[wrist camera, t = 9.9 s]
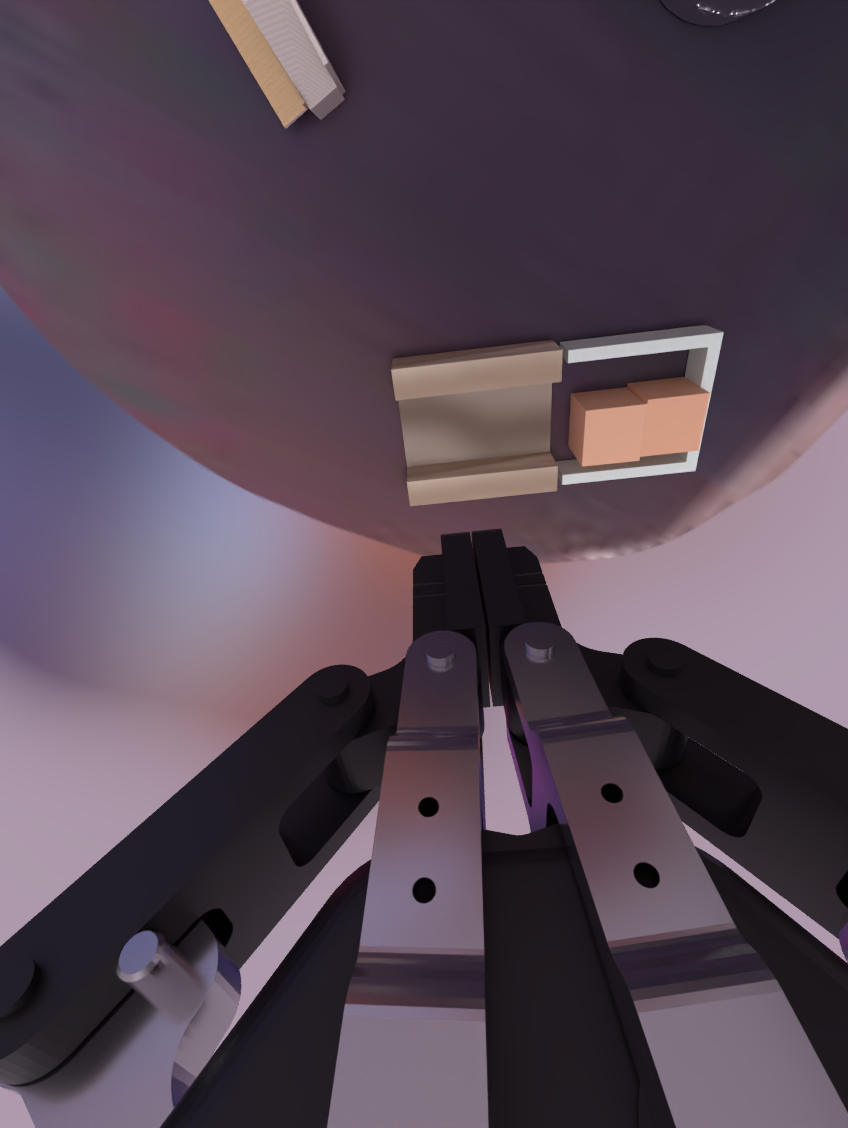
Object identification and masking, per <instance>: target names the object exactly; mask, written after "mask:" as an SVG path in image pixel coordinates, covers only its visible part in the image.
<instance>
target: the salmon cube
mask: <svg viewBox="0 0 848 1128" xmlns="http://www.w3.org/2000/svg"><path fill="white" fill-rule="evenodd" d="M627 388H629V389H630V390H631V391H632V392H633V393H635V394H636V395H637V396H638V397H639V398H641V399H642V400H643V401H644V402H645V403H647V409H646V416H645V424H644V431H643V438H642V446H641V453H640V457H643V456H653V455H662V454H671V453H681V452H690V451H698V450H699V445H700V440H701V435H702V430H703V425H704V420H705V415H706V410H707V405H708V400H709V395H710V392H708V391H706V390H705V389H703V388H701V387H700V386H698V385H697V384H695V383H693V382H692V381H690V380H689V379H687V378H685V377H677V378H669V379H660V380H651V381H642V382H634V383H627Z"/></svg>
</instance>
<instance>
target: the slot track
mask: <svg viewBox="0 0 848 1128" xmlns="http://www.w3.org/2000/svg"><path fill="white" fill-rule="evenodd" d="M562 356H563V350H562V349H561V348H560V347H559V346H558V345H557V344H556V343H555V342H554V341H553V340H546V341H538V342H529V343H521V344H512V345H504V346H495V347H487V348H478V349H470V350H461V351H453V352H444V353H436V354H427V355H419V356H410V357H402V358H393V361H392V368H391V372H392V379H393V386H394V393H395V400H396V401H397V400H398V403H399V410H400V417H401V425H402V432H403V439H404V447H405V454H406V461H407V487H408V494H409V501H410V506H417V505H426V504H436V503H445V502H455V501H465V500H474V499H484V498H494V497H503V496H513V495H522V494H532V493H542V492H551V491H557V476H558V465H557V464H556V462H555V460H554V458H553V456H552V455H551V453H550V430H551V398H552V383H555V382H561V380H562Z"/></svg>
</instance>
